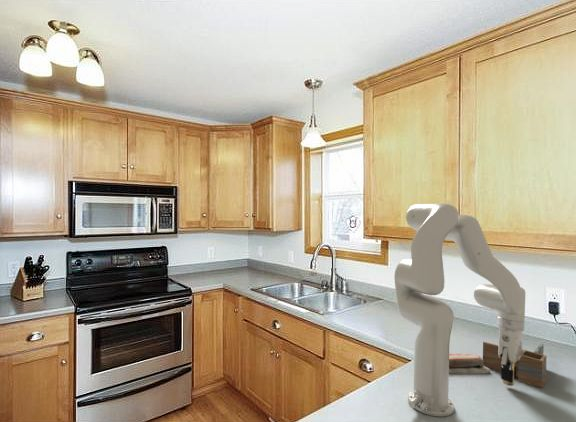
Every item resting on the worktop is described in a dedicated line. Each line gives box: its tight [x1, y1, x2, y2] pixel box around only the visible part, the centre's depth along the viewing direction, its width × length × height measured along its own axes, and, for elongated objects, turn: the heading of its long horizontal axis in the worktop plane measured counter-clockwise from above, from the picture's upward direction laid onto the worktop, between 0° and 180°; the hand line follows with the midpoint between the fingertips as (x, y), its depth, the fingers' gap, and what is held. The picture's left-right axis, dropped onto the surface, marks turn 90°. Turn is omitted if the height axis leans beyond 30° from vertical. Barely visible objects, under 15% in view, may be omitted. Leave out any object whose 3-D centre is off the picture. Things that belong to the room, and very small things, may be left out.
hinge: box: [482, 341, 548, 389], centre depth 124 cm, size 19×19×9 cm
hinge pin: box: [501, 354, 520, 387], centre depth 111 cm, size 6×6×10 cm
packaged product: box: [449, 353, 491, 374], centre depth 125 cm, size 18×5×10 cm
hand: (508, 378), depth 111 cm, fingers closed on hinge pin, 3 cm apart
